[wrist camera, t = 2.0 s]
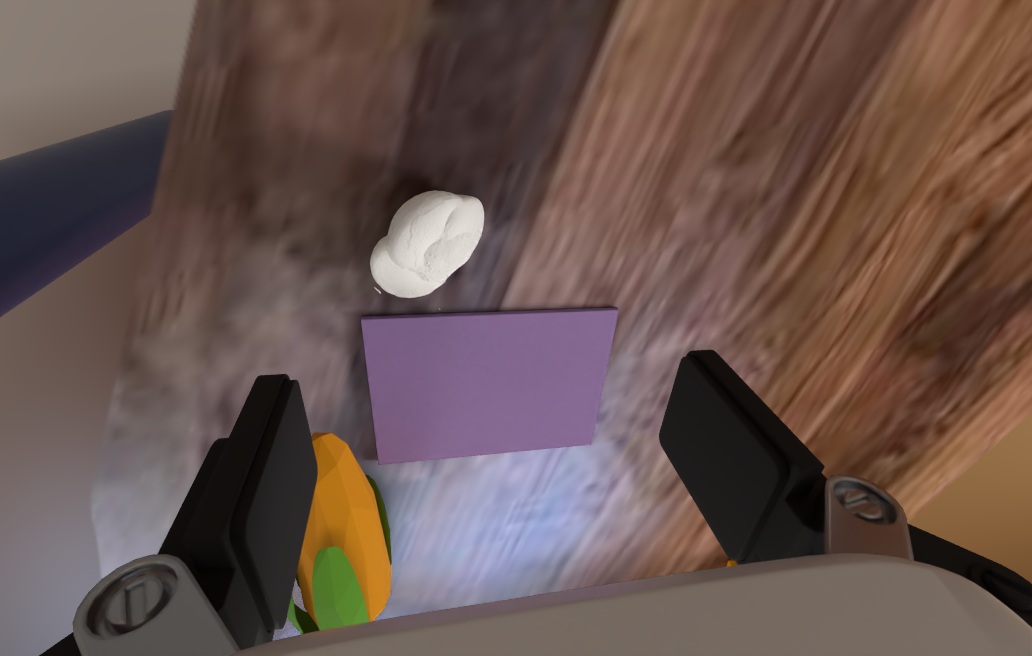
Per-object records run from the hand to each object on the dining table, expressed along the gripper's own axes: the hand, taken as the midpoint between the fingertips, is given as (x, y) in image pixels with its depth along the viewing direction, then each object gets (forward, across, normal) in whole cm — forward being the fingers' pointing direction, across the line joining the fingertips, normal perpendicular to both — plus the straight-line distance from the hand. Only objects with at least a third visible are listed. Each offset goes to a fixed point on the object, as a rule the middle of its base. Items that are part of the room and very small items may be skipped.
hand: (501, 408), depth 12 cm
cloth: (+16, -2, +13) cm, 21 cm away
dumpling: (+16, +2, +2) cm, 17 cm away
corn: (+16, +9, +22) cm, 29 cm away
